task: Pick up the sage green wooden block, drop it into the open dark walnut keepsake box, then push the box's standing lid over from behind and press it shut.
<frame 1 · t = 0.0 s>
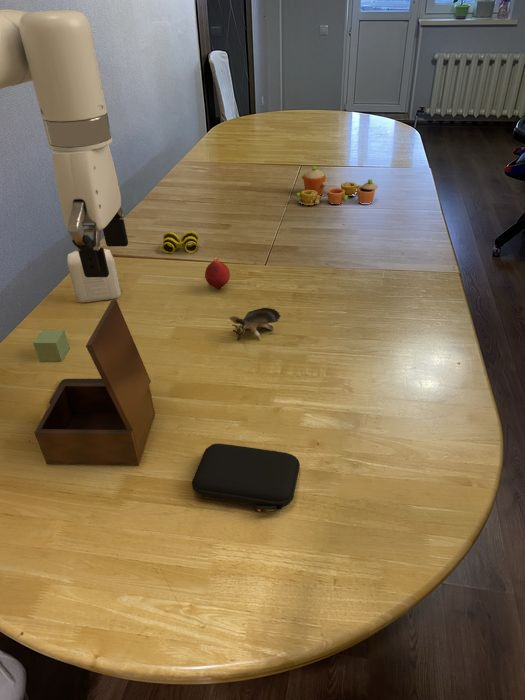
hand: (108, 260, 73), 28 cm above the table, tool pointing down, fingers open, 9 cm apart
lid: (122, 365, 75), point 15 cm above the table, hinge at 80.0°
toy tea set: (335, 199, 172), on the table
carrying case: (246, 484, 76), on the table
opera glasses: (181, 251, 143), on the table
block: (54, 354, 104), on the table
onion: (218, 289, 124), on the table
keepsake box: (103, 437, 84), on the table
smartphone: (96, 394, 93), on the table
brown animal figure: (255, 335, 107), on the table
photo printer: (99, 298, 123), on the table
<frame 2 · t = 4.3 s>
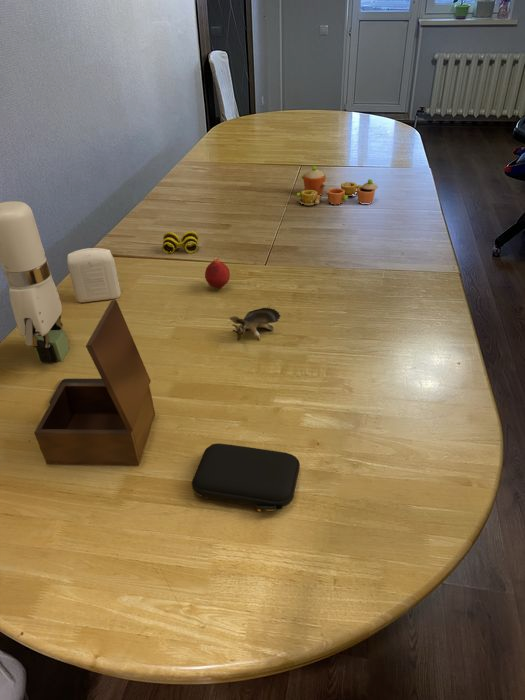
hand: (54, 353, 104), 0 cm above the table, tool pointing down, fingers closed on block, 4 cm apart
block: (55, 354, 104), on the table, touching gripper
everything else where it was.
when the fingers open (6 cm above the table, at t = 11.0 s): block stays where it is, resting on keepsake box.
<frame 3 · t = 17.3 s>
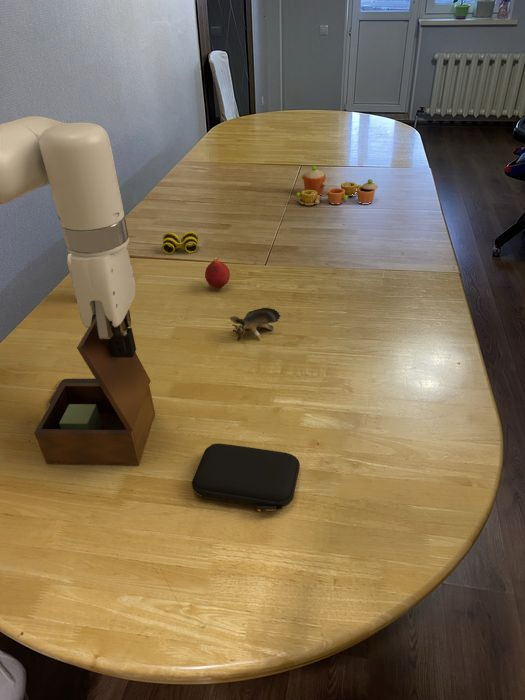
hand: (124, 353, 74), 17 cm above the table, tool pointing down, fingers closed
lid: (118, 366, 75), point 15 cm above the table, hinge at 75.2°, touching gripper
block: (84, 434, 84), point 1 cm above the table, touching keepsake box
everything else where it was.
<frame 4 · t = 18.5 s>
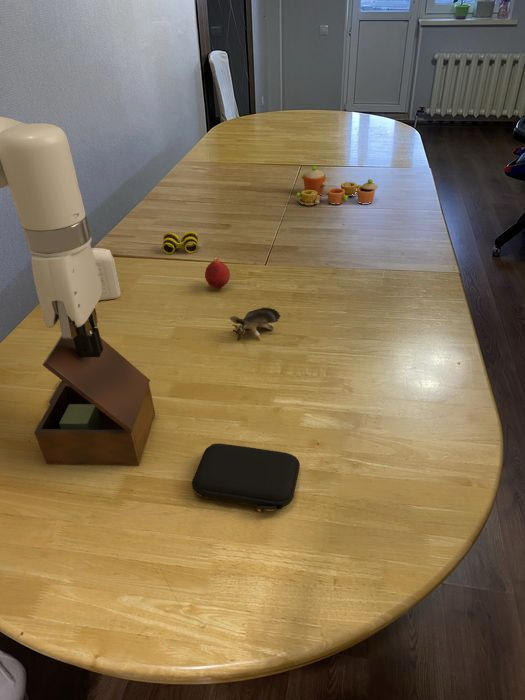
hand: (91, 353, 74), 17 cm above the table, tool pointing down, fingers closed
lid: (101, 373, 76), point 13 cm above the table, hinge at 52.8°
everything else where it was.
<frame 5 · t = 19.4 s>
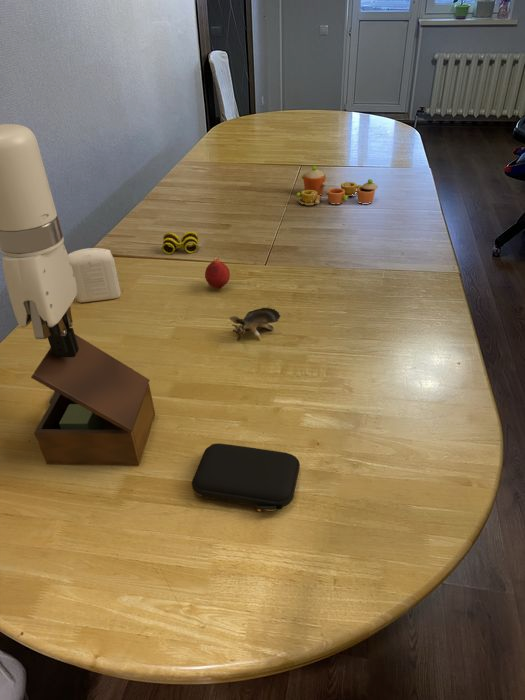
hand: (66, 353, 75), 17 cm above the table, tool pointing down, fingers closed
lid: (95, 378, 77), point 12 cm above the table, hinge at 41.3°, touching gripper
everything else where it was.
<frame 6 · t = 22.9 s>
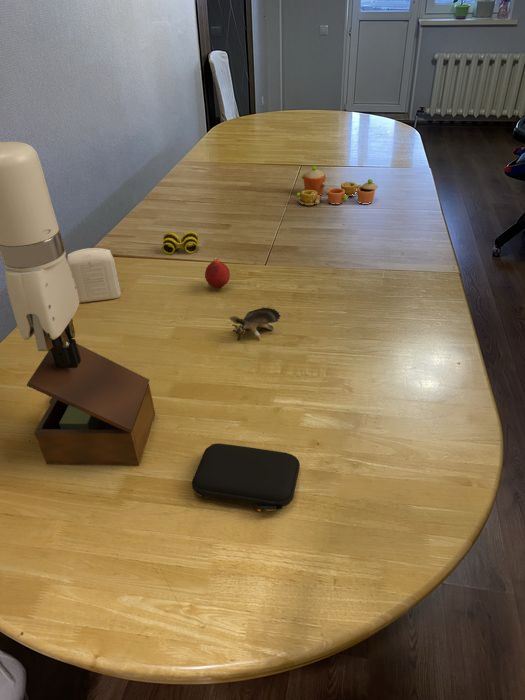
hand: (69, 364, 76), 15 cm above the table, tool pointing down, fingers closed
lid: (93, 382, 77), point 12 cm above the table, hinge at 34.8°
everything else where it was.
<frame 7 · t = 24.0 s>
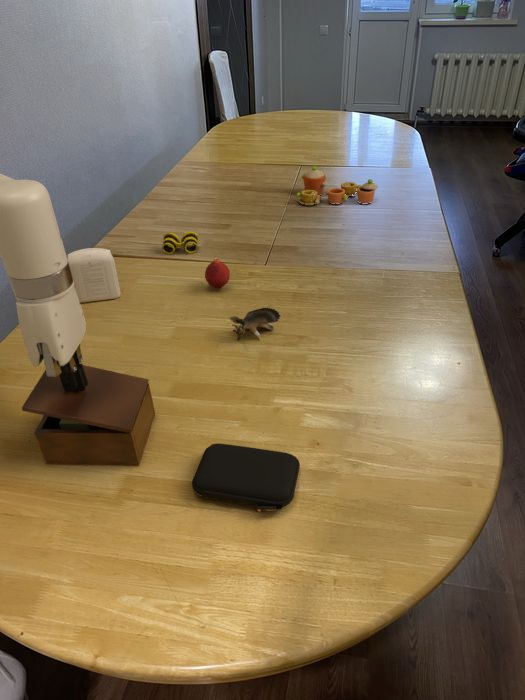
hand: (76, 387, 78), 11 cm above the table, tool pointing down, fingers closed
lid: (89, 394, 79), point 9 cm above the table, hinge at 15.9°
everything else where it was.
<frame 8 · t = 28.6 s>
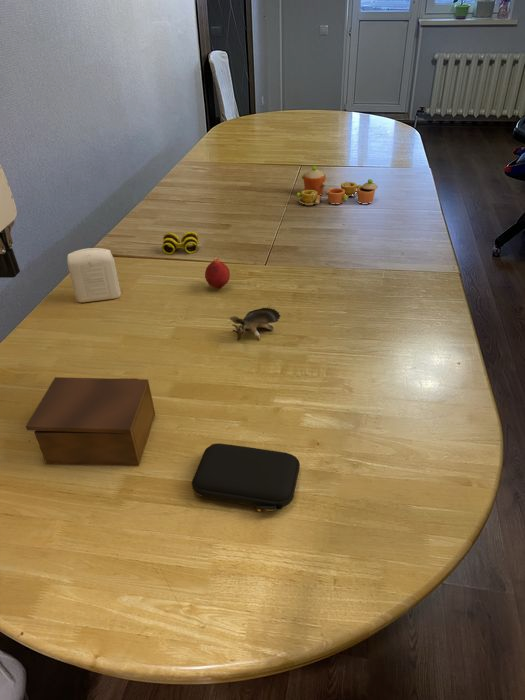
hand: (8, 274, 78), 25 cm above the table, tool pointing down, fingers closed
lid: (90, 403, 80), point 7 cm above the table, hinge at 1.4°
everything else where it was.
at the end: block inside the target area in the keepsake box (3.0 cm from its centre), point 0.8 cm above the keepsake box's base; lid at +1° (first picture: +80°) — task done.
